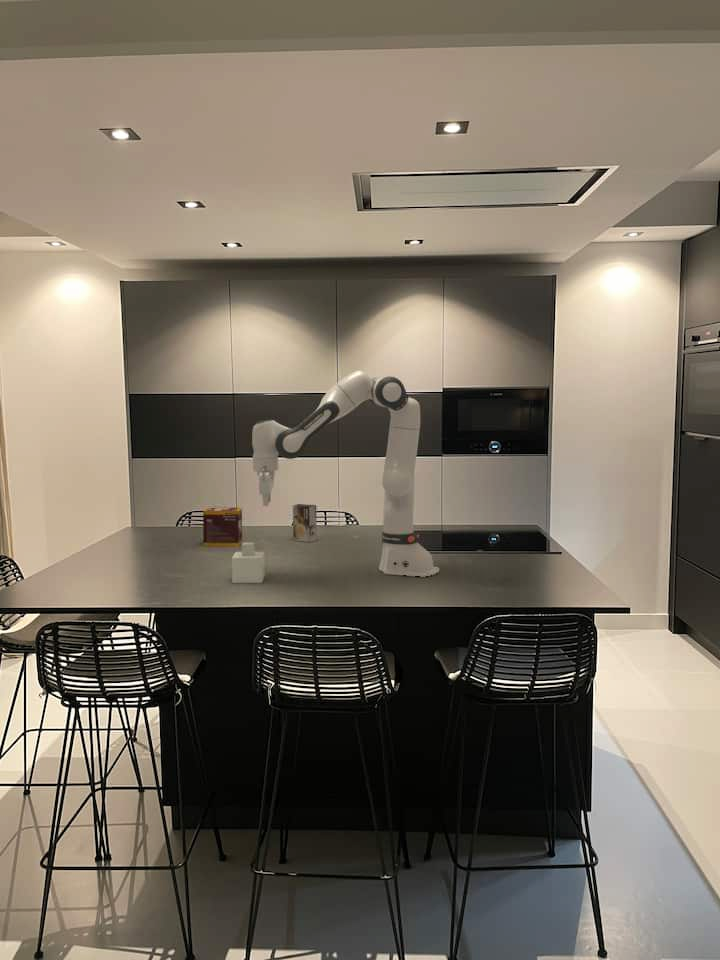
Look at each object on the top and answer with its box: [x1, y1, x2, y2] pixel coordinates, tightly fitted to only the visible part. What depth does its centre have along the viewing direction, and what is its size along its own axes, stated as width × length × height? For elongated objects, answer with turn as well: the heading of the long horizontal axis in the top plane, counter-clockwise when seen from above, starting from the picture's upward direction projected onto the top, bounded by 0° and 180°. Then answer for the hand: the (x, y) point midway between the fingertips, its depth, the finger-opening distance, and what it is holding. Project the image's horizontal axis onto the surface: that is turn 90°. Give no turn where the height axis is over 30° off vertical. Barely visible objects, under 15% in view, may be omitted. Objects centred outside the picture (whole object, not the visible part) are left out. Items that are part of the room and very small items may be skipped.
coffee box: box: [292, 503, 318, 543], centre depth 333 cm, size 9×6×16 cm
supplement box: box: [202, 506, 243, 547], centre depth 324 cm, size 10×15×16 cm
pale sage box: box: [231, 541, 266, 584], centre depth 260 cm, size 10×10×13 cm
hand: (267, 504), depth 266 cm, fingers open, 8 cm apart
